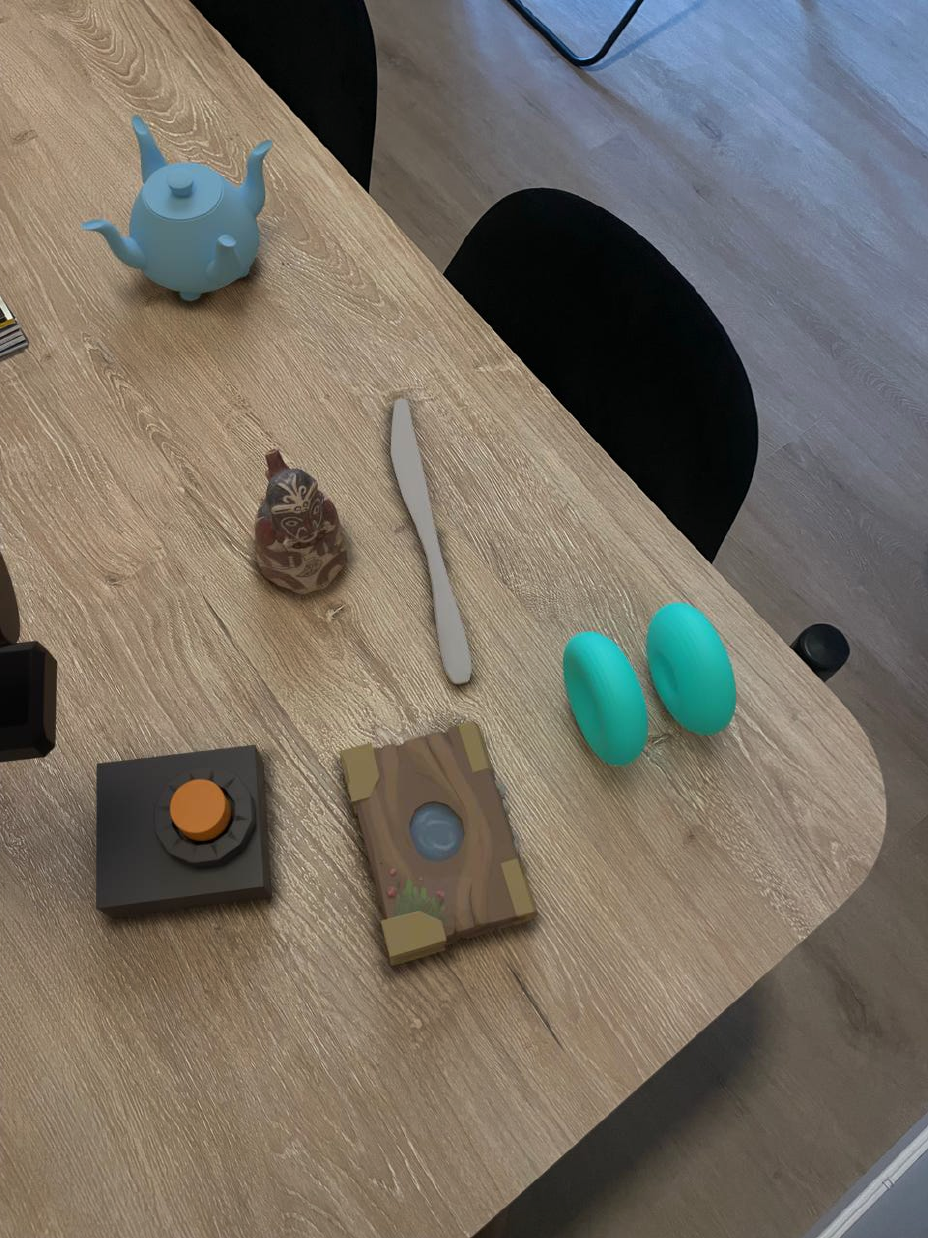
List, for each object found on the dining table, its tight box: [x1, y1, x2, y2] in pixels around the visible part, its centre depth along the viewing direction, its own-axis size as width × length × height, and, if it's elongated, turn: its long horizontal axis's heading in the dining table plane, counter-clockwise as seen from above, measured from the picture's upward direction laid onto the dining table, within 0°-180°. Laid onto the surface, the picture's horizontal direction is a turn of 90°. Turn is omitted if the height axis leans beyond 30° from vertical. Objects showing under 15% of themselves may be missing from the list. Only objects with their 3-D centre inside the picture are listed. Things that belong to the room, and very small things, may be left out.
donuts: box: [562, 602, 737, 767], centre depth 78 cm, size 10×10×10 cm
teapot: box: [80, 114, 274, 302], centre depth 95 cm, size 13×13×10 cm
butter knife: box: [390, 397, 473, 685], centre depth 88 cm, size 1×27×3 cm
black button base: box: [95, 744, 273, 920], centre depth 74 cm, size 11×10×6 cm
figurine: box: [253, 447, 348, 595], centre depth 82 cm, size 7×7×12 cm
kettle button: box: [170, 779, 231, 841], centre depth 71 cm, size 4×4×2 cm
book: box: [339, 720, 539, 967], centre depth 75 cm, size 15×11×5 cm
